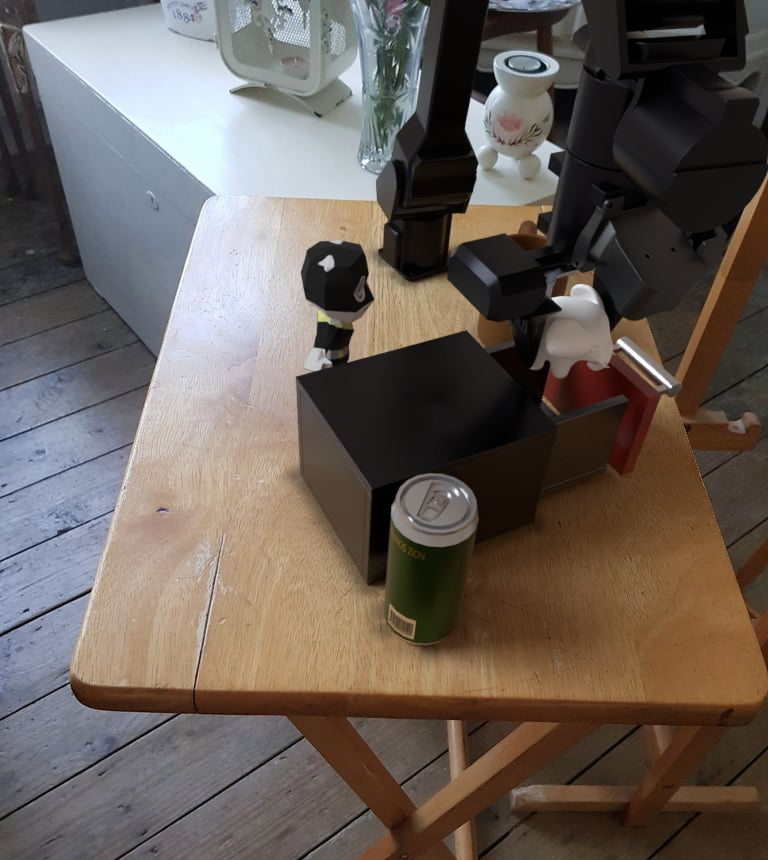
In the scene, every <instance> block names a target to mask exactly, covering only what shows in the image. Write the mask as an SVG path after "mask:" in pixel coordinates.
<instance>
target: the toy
mask: <svg viewBox="0 0 768 860" xmlns="http://www.w3.org/2000/svg"><path fill="white" fill-rule="evenodd" d="M369 275H370V272H369V265H368V260H367V256H366V253H365V251H364V249H363V246H362V245H361V244H360V243H355V242H351V241H347V240H341V239H337V240H320V241H318V242H316V243H315V244H313V245H312V246H311V247H309V248H307V249H306V252H305V256H304V260H303V263H302V267H301V270H300V276H301V283H302V288H303V292H304V293H303V294H304V298H305V300H306V301H307V302H309V303H310V304H311V305H312V306H313V307H315V308H316V309H317V313H316V314H317V316H316V334H315V338H314V342H313V347H312V348H311V350H310V351H309V353H308V355H307V358H306V360H305V362H304V364H303V367H302V369H303V370H306V371H310V372H314V371H318V370H322V369H325V368H329V367H333V366H336V365H340V364H344V363H347V362H349V360H350V353H351V352H350V343H351V340H352V337H353V334H354V332H355V328H354V325H353V323H354V322H356V321H358V320H360V319H362V318H363V316H364V315H365V313H366V312H367V311H368V310H369V308H370V307H371V305H372V304H373V303H374V301H375V297H374V294H373V292H372V291H371V288H370V285H369V284H368V278H369Z"/></svg>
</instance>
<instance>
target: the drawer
mask: <svg viewBox="0 0 768 860" xmlns="http://www.w3.org/2000/svg"><path fill="white" fill-rule="evenodd" d="M483 348H484V349H485V350H486V351H487V352H488V353H489V354H490V355H491V356H492V357H493V359H494V360H495V361H496V362H497V363H498V364H499V365H500V366H501V367H502V368H503V369H504V370H505V371H506V372H507V373H508V374H509V376H510V377H511V378H512V379H513V380H514V381H515V382H516V383H517V384H518V385H519V386H520V387H521V388H522V389H523V390H524V391H525V392H526V394H527V395H528V396H529V397H530V398H531V399H532V400H533V401H534V402H535V403H536V404H537V405H538V406H539V407H540V408H541V409H542V411H543V412H544V413H545V414H546V415H547V416H548V417H549V418H550V419H551V420H552V421H553V422H554V423H555V424H556V425H557V426H558V431H557V434H556V438H555V442H554V446H553V449H552V453H551V457H550V460H549V464H548V468H547V472H546V475H545V479H544V483H543V486H542V490H541V494H540V497H542V496H545V495H547V494H551V493H554V492H555V491H558V490H562V489H565V488H567V487H570V486H572V485H575V484H578V483H581V482H583V481H587V480H589V479H591V478H594V477H597V476H599V475H603V474H604V473H605V470H606V467H607V466H608V465H609V466H610V467H611V468H612V469H613V470H614V471H615V472H616V473H617V474H618V475H619V476H620V477H624V476H626V475H629V474H631V473H633V471H634V469H635V466H636V464H637V461H638V458H639V456H640V453H641V450H642V448H643V445H644V442H645V440H646V437H647V435H648V432H649V429H650V427H651V424H652V422H653V418H654V417H655V414H656V411H657V408H658V406H659V403H660V400H661V398H662V396H664V395H665V396H667V398H673V397H675V396H677V395H678V394H679V393H680V392H681V390H682V388H683V384H682V383H681V382H680V381H679V380H678V379H676V378H675V377H674V376H673V375H672V374H671V373H669V372H668V370H666V369H665V368H664V367H662V365H660V364H659V363H658V362H657V361H656V360H655V359H653V357H651V356H650V355H649V354H648V353H647V352H646V351H644V350H643V349H642V348H641V347H640V346H639V345H638V344H636V342H634V341H633V340H632V339H630V337H628V336H627V335H624V336H621V337H620V338H618V340H617V341H616V342H615V343H614V344H613V352H614V353H615V355H616V356H615V355H614V354H613V353H612V356H611V359H610V361H609V363H608V365H607V366H608V367H610V368H606V367H605V368H604V369H601V370H597V371H594V370H592V369H590V368H589V367H588V366H587V362H588V361H587V360H580V361H577V362H576V363H574V364H573V365H572V366H571V368H570V370H569V372H568V374H567V376H566V377H564V378H561V379H560V378H556V377H555V376H553V375H552V374H551V372H550V362H549V361H548V360H545V362H544V365H543V367H542V368H541V369H539V370H532V369H527V368H526V367H525V366H524V365H523V364H522V363H521V362H520V359H519V356H518V352H517V349H516V346H515V342H514V339H513V340H510V341H506V342H503V343H499V344H496V345H492V346H488V347H485V346H484V347H483ZM618 354H620V355H621V356H622V357H623V358H624V359H626V361H628V362H629V363H630V364H631V365H632V366H633V367H635V369H636V370H638V371H639V372H640V373H641V374H642V375H643V376H645V378H646V379H648V380H649V381H650V382H651V383H652V384H653V385H654V386H653V385H651V383H649V382H648V381H647V380H646V379H645V378H643V377H642V375H640V373H638V372H637V371H636V370H635V369H634V368H632V366H630V365H629V364H628V363H627V362H626V361H625V360H623V358H622V357H621V356H620V355H618ZM543 398H545V399H546V400H547V401H548V402H549V403H550V404H551V405H552V406H553V407H554V408H555V410H557V412H558V413H559V414H556V413H555V412H554V411H553V410H552V409H551V407H550V406H549V405H548V404H547V403H546V402H545V401H544V400H543Z"/></svg>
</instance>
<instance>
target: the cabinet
mask: <svg viewBox="0 0 768 860" xmlns="http://www.w3.org/2000/svg"><path fill="white" fill-rule="evenodd" d="M484 348H485V347H483V346H482V345H481V344H480V342H479V341H477V340H476V338H475V337H474V336H473V335H472V334H471V332H469V331H468V330H467V329H466V330H462V331H458V332H455V333H451V334H447V335H444V336H440V337H439V336H438V337H436V338H433V339H429V340H425V341H422V342H417V343H414V344H411V345H407V346H406V345H405V346H403V347H400V348H395V349H392V350H388V351H384V352H381V353H377V354H373V355H370V356H366V357H361V358H358V359H355V360H351V361H348V362H347V363H344V364H340V365H336V366H333V367H329V368H325V369H322V370H318V371H310V372H307V373H304V374H298V375H296V376H295V389H296V391H295V392H296V411H297V413H296V414H297V415H296V416H297V431H298V432H297V434H298V435H297V437H298V451H299V452H298V457H299V474H300V476H301V478H302V479H303V481H304V483H305V485H306V486H307V488H308V490H309V492H310V493H311V495H312V496H313V498H314V499H315V501H316V503H317V505H318V506H319V508H320V509H321V511H322V513H323V514H324V516H325V518H326V519H327V521H328V523H329V524H330V526H331V528H332V529H333V531H334V533H335V534H336V536H337V537H338V540H339V541H340V543H341V544H342V546H343V547H344V549H345V551H346V552H347V554H348V556H349V558H350V559H351V561H352V563H353V564H354V565H355V567H356V569H357V571H358V572H359V574H360V575H361V577H362V579H363V581H364V583H365V585H367V586H368V585H371V584H373V583H377V582H378V581H381V580H384V579H386V573H387V559H388V546H389V533H390V520H391V507H392V504H393V502H394V500H395V498H396V495H397V493H398V491H399V489H400V487H401V486H402V485H403V484H404V483H405V482H406V481H407V480H409V479H411V478H413V477H415V476H418V475H423V474H428V473H434V474H444V475H448V476H451V477H454V478H456V479H458V480H460V481H462V482H463V483H465V484H466V485H467V486H468V487H469V488H470V489H471V490H472V492H473V494H474V496H475V498H476V502H477V510H478V519H479V521H478V526H477V531H476V537H475V542H474V546H475V545H477V544H480V543H482V542H486V541H488V540H490V539H493V538H496V537H499V536H501V535H505V534H506V533H509V532H512V531H515V530H517V529H520V528H523V527H525V526H528V525H531V524H533V523H534V520H535V517H536V512H537V509H538V505H539V502H540V498H541V496H540V494H541V490H542V486H543V483H544V479H545V475H546V472H547V468H548V464H549V460H550V457H551V453H552V449H553V446H554V442H555V438H556V434H557V431H558V426H557V425H556V424H555V423H554V422H553V421H552V420H551V419H550V418H549V417H548V416H547V415H546V414H545V413H544V412H543V411H542V409H541V408H540V407H539V406H538V405H537V404H536V403H535V402H534V401H533V400H532V399H531V398H530V397H529V396H528V395H527V394H526V392H525V391H524V390H523V389H522V388H521V387H520V386H519V385H518V384H517V383H516V382H515V381H514V380H513V379H512V378H511V377H510V376H509V374H508V373H507V372H506V371H505V370H504V369H503V368H502V367H501V366H500V365H499V364H498V363H497V362H496V361H495V360H494V359H493V357H492V356H491V355H490V354H489V353H488V352H487V351H486V350H485V349H484Z"/></svg>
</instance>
